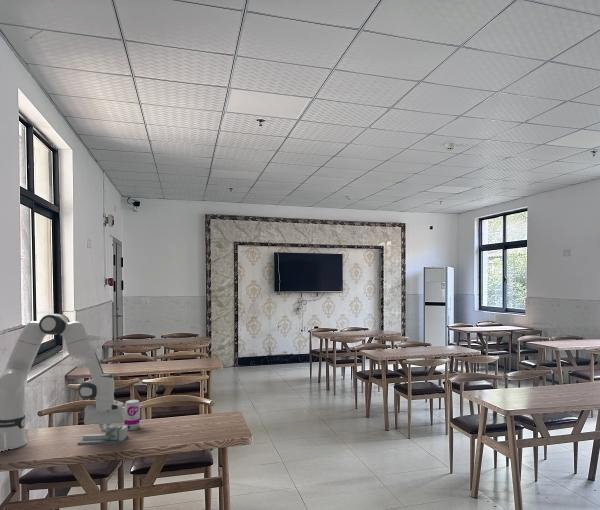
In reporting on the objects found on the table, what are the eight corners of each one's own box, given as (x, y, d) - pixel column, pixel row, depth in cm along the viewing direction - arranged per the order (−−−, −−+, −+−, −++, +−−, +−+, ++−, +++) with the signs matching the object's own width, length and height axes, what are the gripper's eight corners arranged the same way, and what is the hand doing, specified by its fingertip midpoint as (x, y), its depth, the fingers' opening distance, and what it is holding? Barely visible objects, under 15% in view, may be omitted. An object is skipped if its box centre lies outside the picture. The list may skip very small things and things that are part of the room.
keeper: (105, 440, 225) (105, 430, 225) (110, 435, 232) (110, 425, 232) (117, 439, 225) (117, 429, 226) (121, 435, 232) (121, 425, 233)
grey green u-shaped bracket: (77, 444, 222) (77, 432, 222) (85, 438, 232) (85, 426, 232) (121, 443, 224) (122, 431, 224) (127, 436, 234) (128, 425, 234)
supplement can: (139, 429, 245) (140, 402, 246) (124, 431, 242) (124, 403, 243) (139, 425, 253) (139, 398, 254) (124, 427, 250) (124, 400, 251)
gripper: (82, 407, 225) (81, 435, 224) (122, 406, 227) (122, 433, 226) (87, 404, 232) (86, 430, 231) (126, 402, 233) (126, 429, 232)
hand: (104, 432), depth 228 cm, fingers closed
